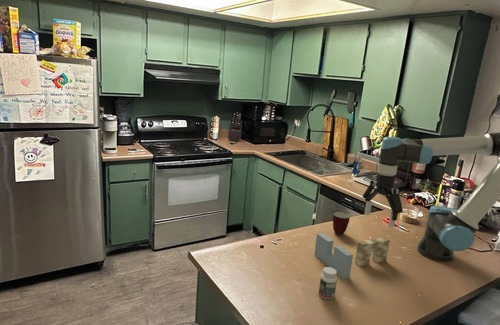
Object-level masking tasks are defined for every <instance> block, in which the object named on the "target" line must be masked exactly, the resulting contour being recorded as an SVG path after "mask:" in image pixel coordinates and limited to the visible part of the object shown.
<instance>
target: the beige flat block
mask: <svg viewBox="0 0 500 325" xmlns="http://www.w3.org/2000/svg"><path fill="white" fill-rule="evenodd" d="M390 242H391V241H390V239H388V238H387V237H377V238H372V239H365V240H358V241H357V246H356V247H357V248H356V251H355V252H356V253H355V259H354V264H355V265H357V266H358V267H364V266H368V265H370V261H371V260H372V261H373V262H375V263H377V264H378V263H383V262H387V258H388V253H389V247H390ZM371 254H372V257H371Z"/></svg>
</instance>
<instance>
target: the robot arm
mask: <svg viewBox="0 0 500 325" xmlns="http://www.w3.org/2000/svg"><path fill="white" fill-rule="evenodd" d="M481 154H483V155H484V156H486V157H492V156H493V157H496V164H495V165H494V166H493V167H492V169H491V170H490V171H489V172H488V174H486V176H485V177H484V178H483V180H481V182H480V183H479V184H478V186H477V187H475V189H474V190H473V191H472V192H471V194H470V195H469V196H468V197H467V198H466V200H465V201H463V203H462V204H461V205H460V207H459V208H458V209H457V208H456V209H455V208H452V207H450V206H444V205H431V206H430V208H429V211H428V216H427V220H426V226H425V229H424V235H423V236H422V238H421V239H420V241H419V243H417V247H416V248H417V252H418V253H420V255H421V256H424V257H426V258H428V259H430V260H432V261H433V260H434V261H438V262H451V261H453V260H454V256H455V252H463V251H467V250H468V249H470V248H471V247H472V246H473V244H474V242H475V234H476V232H477V231H478V230H480V228H479V222H480V221H481V220H482V219H483V218H484V217H485V216H486V215H487V213H489V211H490V210H491V209H492V208H493V207H494V206H495V204H496V203H497V202H498V201H499V200H500V132H499V131H498V132H489V133H484V135H480V136H479V135H477V136H475V135H473V136H459V137H442V138H441V137H439V138H437V137H435V138H421V139H416V138H415V139H411V138H403V139H402V138H401V137H396V136H385V137H383V139H382V143H381V146H380V154H379V160H378V166H377V170H376V171H377V173H376V179H374V180H370V181H369V186H368V187H367V188H366V190H365V192H363V194H362V195H361V196H362V198H363V199H364V200H365V201H364V207H365V208H364V216H369V215H370V216H371V211H372V204H373V199H374V198H375V197H376V196H377V195H382V196H384V197H385V198H386V199H387V203H388V204H389V208H390V209H391V212H390V214H389V220H388V226H387V227H388V228H393V227H395V224H396V221H397V220H398V214H403V213H404V210H403V206H402V200H401V196H400V189H399V188H394V185H395V184H396V177H397V176H396V175H397V171H398V166H399V162H404V163H413V164H420V165H421V164H423V165H426V164H427V165H428V164H430V163H431V162H432V159H433V156H434V157H435V156H455V155H457V156H458V155H481Z"/></svg>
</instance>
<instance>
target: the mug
mask: <svg viewBox="0 0 500 325" xmlns="http://www.w3.org/2000/svg"><path fill="white" fill-rule="evenodd" d="M332 214H333V215H332V228H333V232H334V234H335V235H337V236H342V235H344V233H345V232H347V228H348V227H349V223H350V219H351V216H350V215H349V214H347V213H346V212H339V211H337V212H333V213H332Z"/></svg>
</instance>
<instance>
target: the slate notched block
mask: <svg viewBox="0 0 500 325" xmlns="http://www.w3.org/2000/svg"><path fill="white" fill-rule="evenodd" d="M314 248H315V249H314V254H313V255H314V256H315V257H317V258H318V259H319V260H321V262H323V263H324V264H325V265H326V266H327V267H331V268H334V269H335V270H336V271H337V274H336V275H338V276H339V277H341V278H342V279H343V280H345V279H348V278H349V279H350V278H351V273H352V272H351V271H352V266H353V265H352V264H353V258H354V253H352V252H350V250H348V249H346V248H345V247H344V246H342V245H340V244H339V245H336V246H334V240H333V239H332V238H331V237H330V236H328V235H327V234H325V233H324V232H318V233H316V239H315V247H314Z"/></svg>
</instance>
